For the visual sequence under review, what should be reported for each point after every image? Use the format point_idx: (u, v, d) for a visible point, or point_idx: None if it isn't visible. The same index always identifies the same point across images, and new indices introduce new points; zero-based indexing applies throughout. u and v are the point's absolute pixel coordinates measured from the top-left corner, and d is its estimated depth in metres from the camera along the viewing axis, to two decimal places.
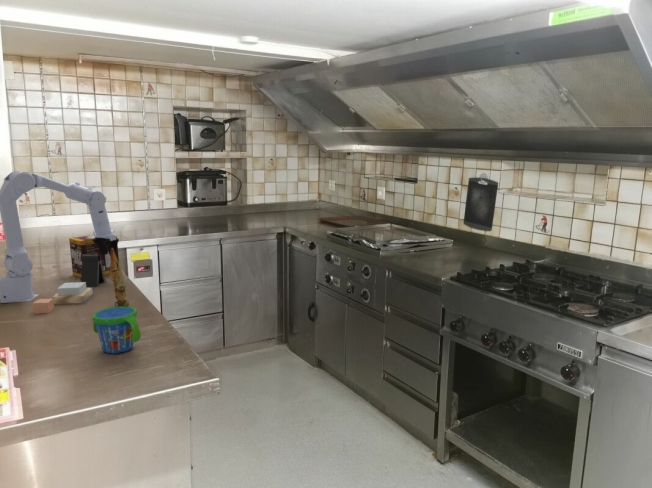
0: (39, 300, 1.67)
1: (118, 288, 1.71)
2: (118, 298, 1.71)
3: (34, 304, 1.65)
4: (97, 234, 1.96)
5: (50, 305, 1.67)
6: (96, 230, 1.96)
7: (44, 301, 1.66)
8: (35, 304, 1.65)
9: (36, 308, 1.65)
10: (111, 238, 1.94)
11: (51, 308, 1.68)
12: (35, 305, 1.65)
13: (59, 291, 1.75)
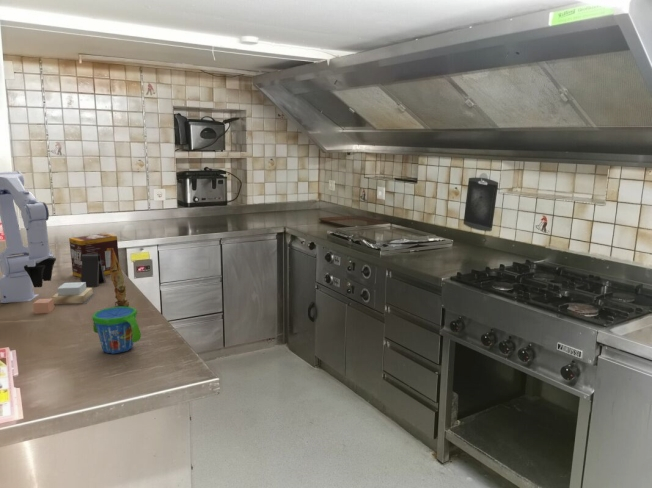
0: (39, 300, 1.67)
1: (118, 288, 1.71)
2: (118, 298, 1.71)
3: (34, 304, 1.65)
4: (29, 255, 1.63)
5: (50, 305, 1.67)
6: (28, 250, 1.63)
7: (44, 301, 1.66)
8: (35, 304, 1.65)
9: (36, 308, 1.65)
10: (28, 264, 1.57)
11: (51, 308, 1.68)
12: (35, 305, 1.65)
13: (59, 291, 1.75)
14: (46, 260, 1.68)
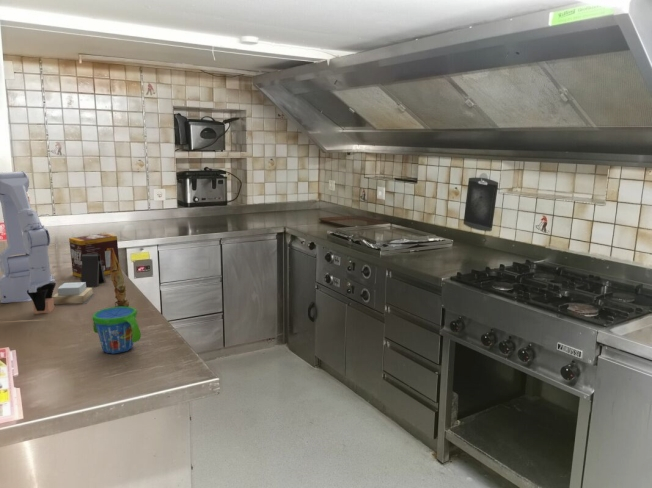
0: None
1: (118, 288, 1.71)
2: (118, 298, 1.71)
3: None
4: (30, 280, 1.64)
5: (50, 304, 1.67)
6: (30, 275, 1.64)
7: None
8: None
9: None
10: (29, 289, 1.59)
11: (51, 308, 1.68)
12: None
13: (59, 291, 1.75)
14: (46, 285, 1.69)
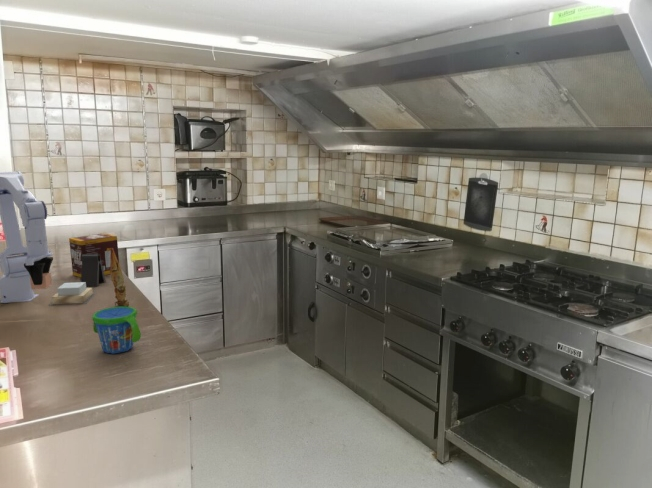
0: None
1: (118, 288, 1.71)
2: (118, 298, 1.71)
3: (31, 278, 1.63)
4: (27, 253, 1.63)
5: (47, 279, 1.65)
6: (27, 248, 1.62)
7: None
8: None
9: None
10: (26, 262, 1.57)
11: (48, 282, 1.66)
12: None
13: (59, 291, 1.75)
14: (43, 260, 1.67)
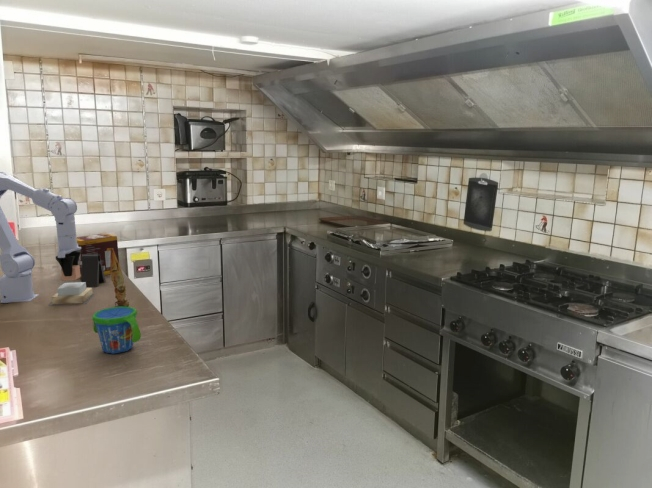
0: None
1: (118, 288, 1.71)
2: (118, 298, 1.71)
3: None
4: None
5: (76, 270, 1.78)
6: (58, 242, 1.75)
7: None
8: None
9: None
10: (58, 255, 1.69)
11: (78, 274, 1.78)
12: None
13: (59, 291, 1.75)
14: (72, 253, 1.79)
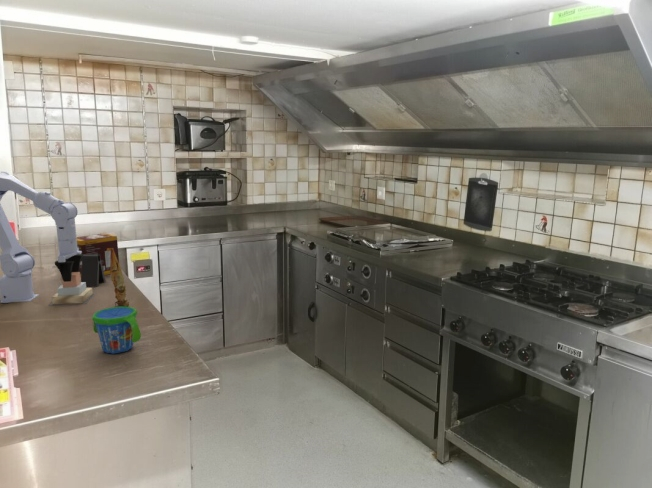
0: None
1: (118, 288, 1.71)
2: (118, 298, 1.71)
3: None
4: (59, 251, 1.75)
5: (77, 277, 1.78)
6: None
7: (71, 274, 1.77)
8: None
9: None
10: (59, 259, 1.70)
11: (78, 281, 1.79)
12: None
13: (59, 291, 1.75)
14: (74, 256, 1.81)
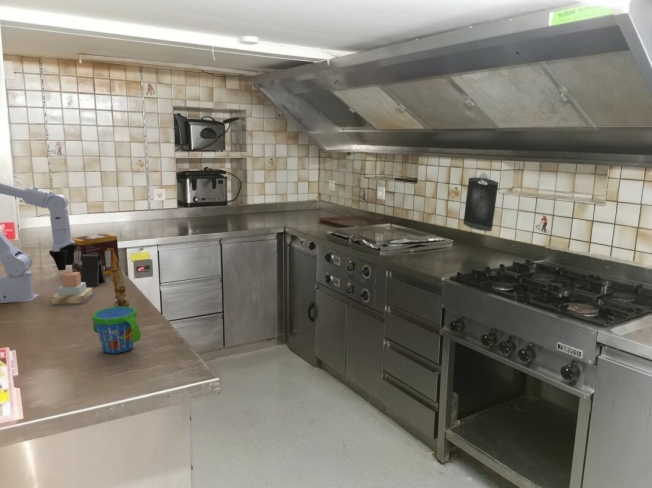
0: (67, 273, 1.79)
1: (118, 288, 1.71)
2: (118, 298, 1.71)
3: (63, 276, 1.76)
4: (53, 241, 1.80)
5: (77, 277, 1.78)
6: None
7: (71, 274, 1.77)
8: (64, 276, 1.76)
9: (64, 280, 1.76)
10: (53, 249, 1.75)
11: (78, 281, 1.79)
12: (64, 277, 1.76)
13: (59, 291, 1.75)
14: (68, 246, 1.86)
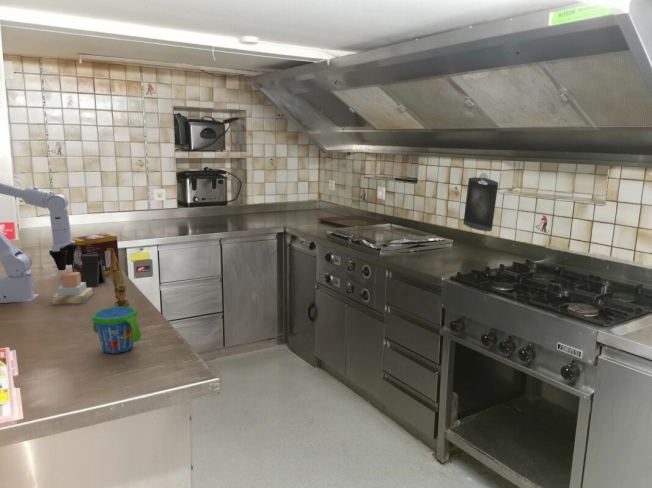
0: (67, 273, 1.79)
1: (118, 288, 1.71)
2: (118, 298, 1.71)
3: (63, 276, 1.76)
4: (53, 241, 1.80)
5: (77, 277, 1.78)
6: None
7: (71, 274, 1.77)
8: (64, 276, 1.76)
9: (64, 280, 1.76)
10: (53, 249, 1.75)
11: (78, 281, 1.79)
12: (64, 277, 1.76)
13: (59, 291, 1.75)
14: (68, 246, 1.86)
